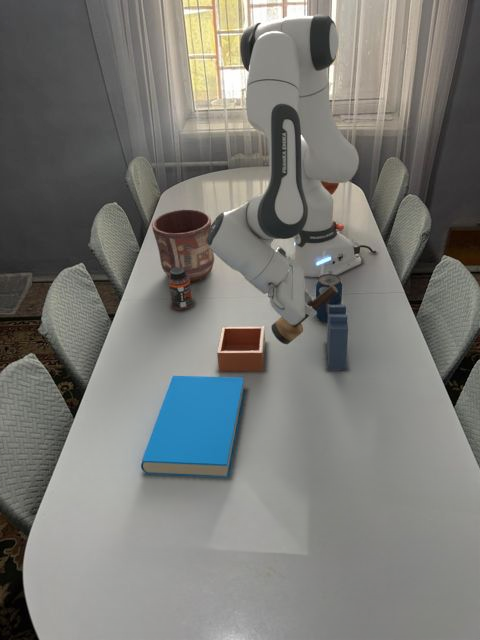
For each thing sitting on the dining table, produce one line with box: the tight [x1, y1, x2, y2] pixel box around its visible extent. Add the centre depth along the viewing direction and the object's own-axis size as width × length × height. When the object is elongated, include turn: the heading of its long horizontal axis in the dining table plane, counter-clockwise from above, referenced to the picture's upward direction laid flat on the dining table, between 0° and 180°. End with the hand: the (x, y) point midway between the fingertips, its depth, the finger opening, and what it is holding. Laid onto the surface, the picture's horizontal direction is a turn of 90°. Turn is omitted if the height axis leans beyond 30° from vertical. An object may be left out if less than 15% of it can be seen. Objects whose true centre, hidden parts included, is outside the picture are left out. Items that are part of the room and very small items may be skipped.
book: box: [140, 375, 246, 479], centre depth 107 cm, size 17×4×25 cm
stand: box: [326, 304, 349, 371], centre depth 121 cm, size 4×10×14 cm, turn 177°
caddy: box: [216, 326, 266, 372], centre depth 125 cm, size 11×11×6 cm
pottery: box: [151, 209, 215, 284], centre depth 156 cm, size 18×18×18 cm
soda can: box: [315, 274, 344, 325], centre depth 135 cm, size 7×7×12 cm
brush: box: [270, 285, 338, 345], centre depth 118 cm, size 15×6×15 cm, turn 87°
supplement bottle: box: [167, 267, 194, 311], centre depth 144 cm, size 6×6×11 cm
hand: (314, 309), depth 117 cm, fingers closed on brush, 2 cm apart
